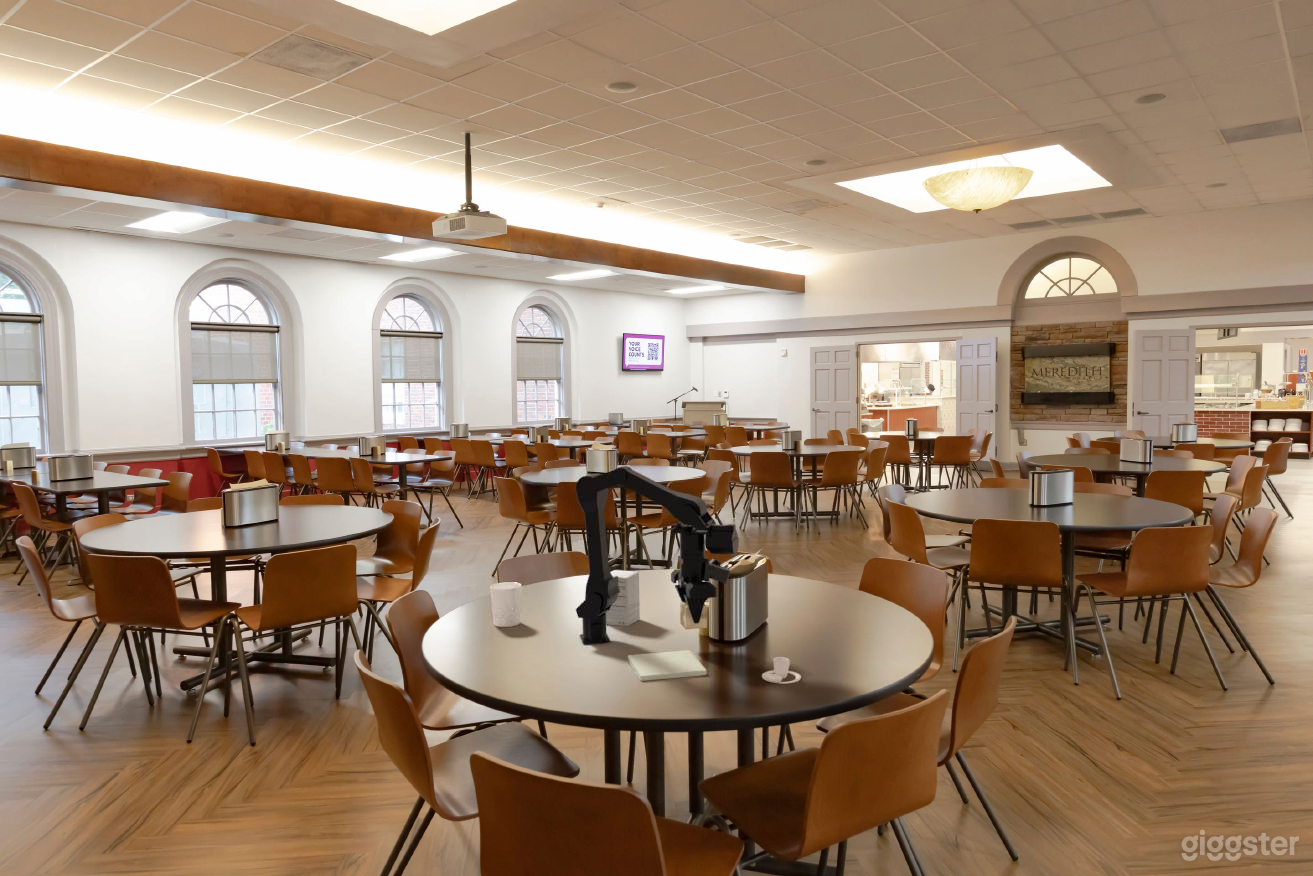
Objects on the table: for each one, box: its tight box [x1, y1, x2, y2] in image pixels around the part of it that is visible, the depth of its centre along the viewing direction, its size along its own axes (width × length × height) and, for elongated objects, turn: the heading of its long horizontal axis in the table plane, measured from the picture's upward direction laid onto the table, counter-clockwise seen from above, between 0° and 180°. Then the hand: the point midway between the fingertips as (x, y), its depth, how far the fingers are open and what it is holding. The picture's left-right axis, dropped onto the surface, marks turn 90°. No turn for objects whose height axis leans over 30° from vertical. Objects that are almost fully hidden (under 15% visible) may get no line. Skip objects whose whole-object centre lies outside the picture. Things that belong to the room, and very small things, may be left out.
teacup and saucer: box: [761, 656, 802, 685], centre depth 170 cm, size 9×8×4 cm
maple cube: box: [679, 601, 708, 630], centre depth 189 cm, size 5×5×5 cm
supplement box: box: [605, 569, 641, 627], centre depth 213 cm, size 7×7×13 cm
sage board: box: [627, 649, 707, 682], centre depth 177 cm, size 14×14×1 cm
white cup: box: [490, 581, 522, 628], centre depth 213 cm, size 8×8×10 cm
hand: (693, 620), depth 189 cm, fingers closed on maple cube, 5 cm apart
